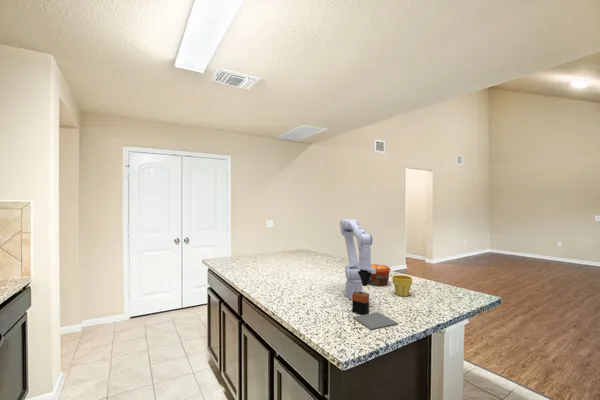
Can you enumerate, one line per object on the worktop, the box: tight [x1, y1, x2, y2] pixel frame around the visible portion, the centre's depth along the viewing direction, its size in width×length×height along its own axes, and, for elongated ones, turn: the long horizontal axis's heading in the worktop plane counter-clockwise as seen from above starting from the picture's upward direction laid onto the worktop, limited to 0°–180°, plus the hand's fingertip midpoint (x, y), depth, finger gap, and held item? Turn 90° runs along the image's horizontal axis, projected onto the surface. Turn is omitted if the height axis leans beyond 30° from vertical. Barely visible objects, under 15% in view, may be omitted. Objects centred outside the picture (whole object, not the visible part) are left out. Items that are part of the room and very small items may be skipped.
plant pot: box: [392, 274, 413, 297], centre depth 160 cm, size 10×10×10 cm
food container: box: [368, 263, 392, 287], centre depth 181 cm, size 16×16×11 cm
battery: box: [351, 290, 370, 315], centre depth 133 cm, size 4×7×10 cm, turn 53°
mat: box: [352, 311, 399, 331], centre depth 124 cm, size 13×14×1 cm
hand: (365, 285), depth 141 cm, fingers closed
